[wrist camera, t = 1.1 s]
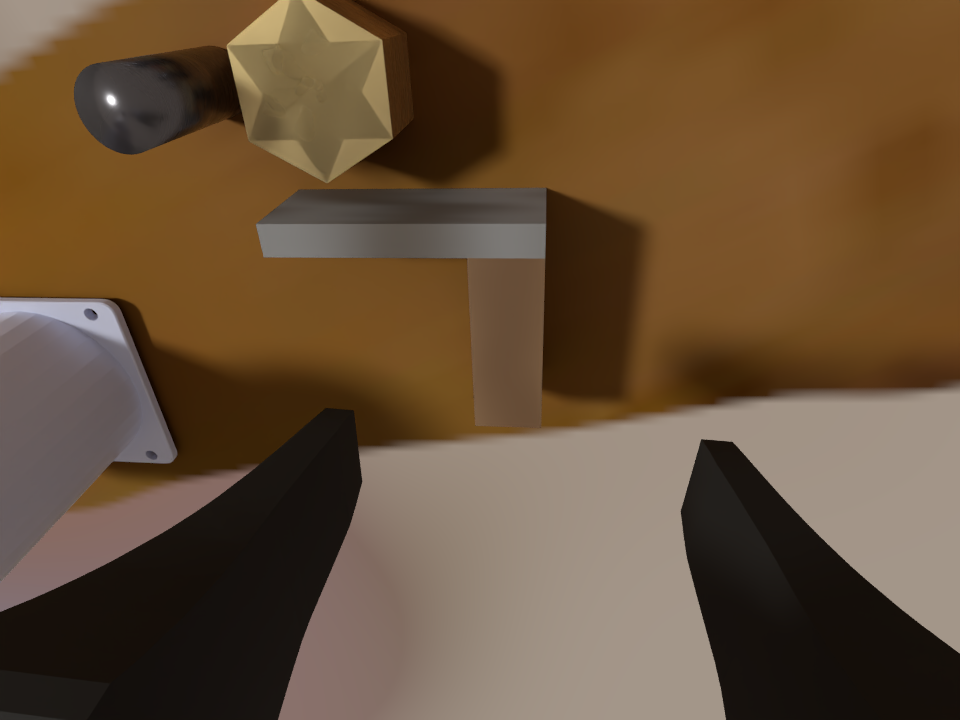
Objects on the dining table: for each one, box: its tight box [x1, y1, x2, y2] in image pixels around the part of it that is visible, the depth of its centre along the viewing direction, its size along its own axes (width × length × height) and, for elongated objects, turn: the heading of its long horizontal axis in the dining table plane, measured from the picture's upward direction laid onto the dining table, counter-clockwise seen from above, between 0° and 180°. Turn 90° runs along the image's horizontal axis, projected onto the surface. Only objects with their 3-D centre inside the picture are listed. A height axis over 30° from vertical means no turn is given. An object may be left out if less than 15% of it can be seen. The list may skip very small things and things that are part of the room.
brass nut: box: [227, 0, 414, 183], centre depth 16 cm, size 5×4×3 cm
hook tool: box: [256, 188, 546, 428], centre depth 20 cm, size 8×7×4 cm
